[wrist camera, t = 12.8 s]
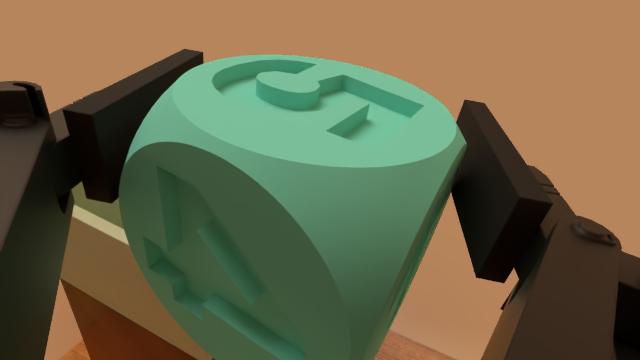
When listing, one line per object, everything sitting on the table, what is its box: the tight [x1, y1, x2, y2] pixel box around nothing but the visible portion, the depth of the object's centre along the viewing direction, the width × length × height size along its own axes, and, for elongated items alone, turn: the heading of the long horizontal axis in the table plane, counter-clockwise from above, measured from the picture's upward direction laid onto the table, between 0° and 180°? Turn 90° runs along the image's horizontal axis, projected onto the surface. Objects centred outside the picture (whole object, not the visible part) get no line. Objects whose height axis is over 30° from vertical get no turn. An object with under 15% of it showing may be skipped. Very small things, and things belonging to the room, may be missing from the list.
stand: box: [60, 278, 215, 360], centre depth 35 cm, size 14×14×16 cm
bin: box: [60, 182, 213, 360], centre depth 28 cm, size 14×14×8 cm
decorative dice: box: [119, 55, 467, 360], centre depth 12 cm, size 8×8×8 cm
